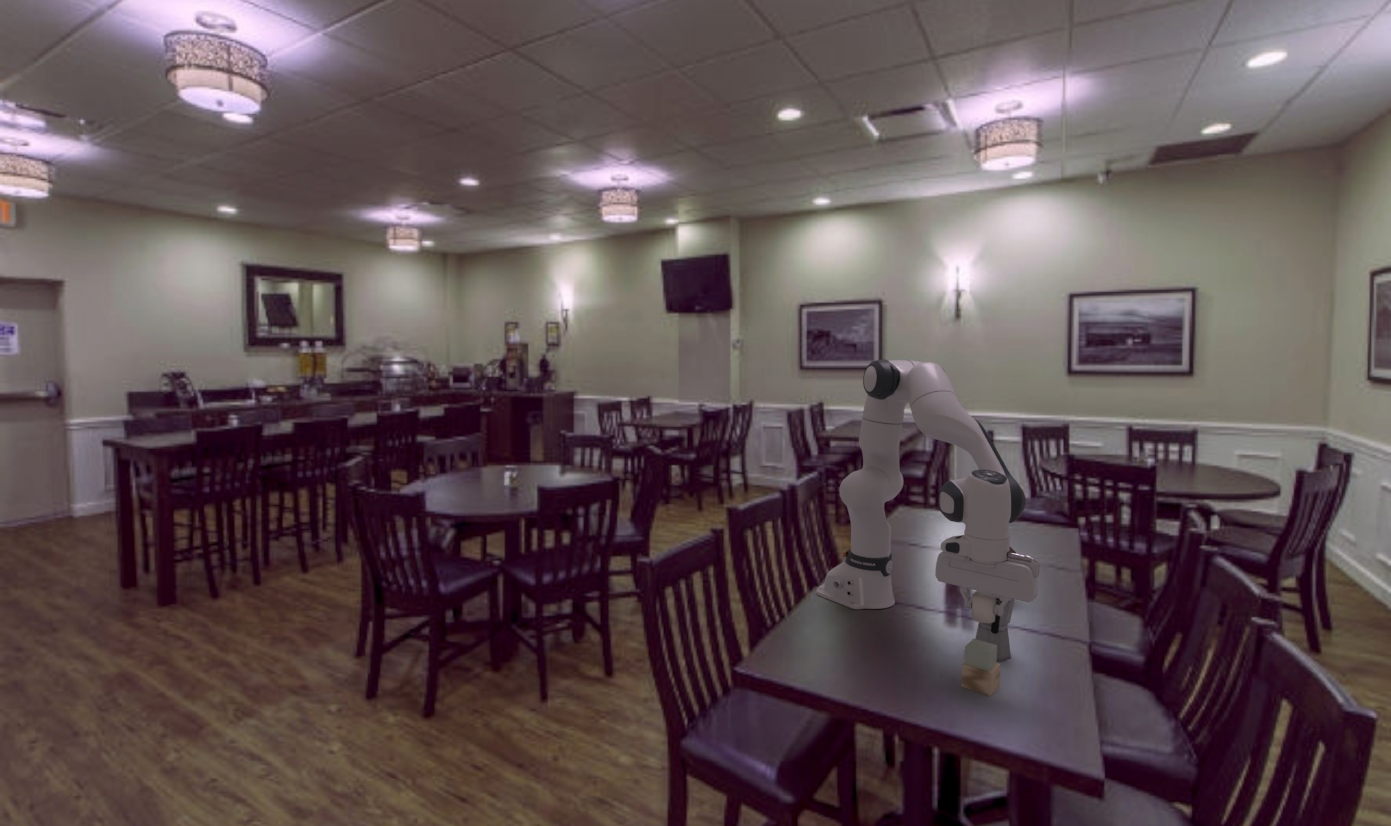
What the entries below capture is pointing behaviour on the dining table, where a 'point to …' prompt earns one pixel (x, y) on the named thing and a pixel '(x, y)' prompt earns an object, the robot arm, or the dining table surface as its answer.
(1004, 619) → the coffee maker
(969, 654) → the tower top
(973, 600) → the grey rounded cylinder
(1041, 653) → the dining table surface
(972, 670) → the tower base
